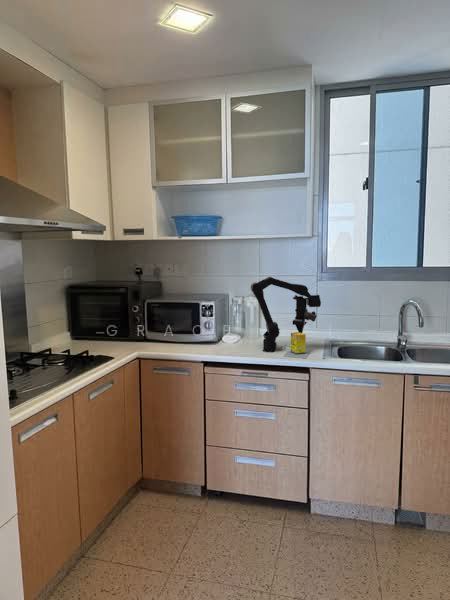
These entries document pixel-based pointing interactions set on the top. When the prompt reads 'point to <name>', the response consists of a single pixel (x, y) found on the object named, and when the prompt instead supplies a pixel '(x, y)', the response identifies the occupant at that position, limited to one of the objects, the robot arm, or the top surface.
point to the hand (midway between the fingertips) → (300, 334)
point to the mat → (290, 354)
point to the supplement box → (298, 343)
